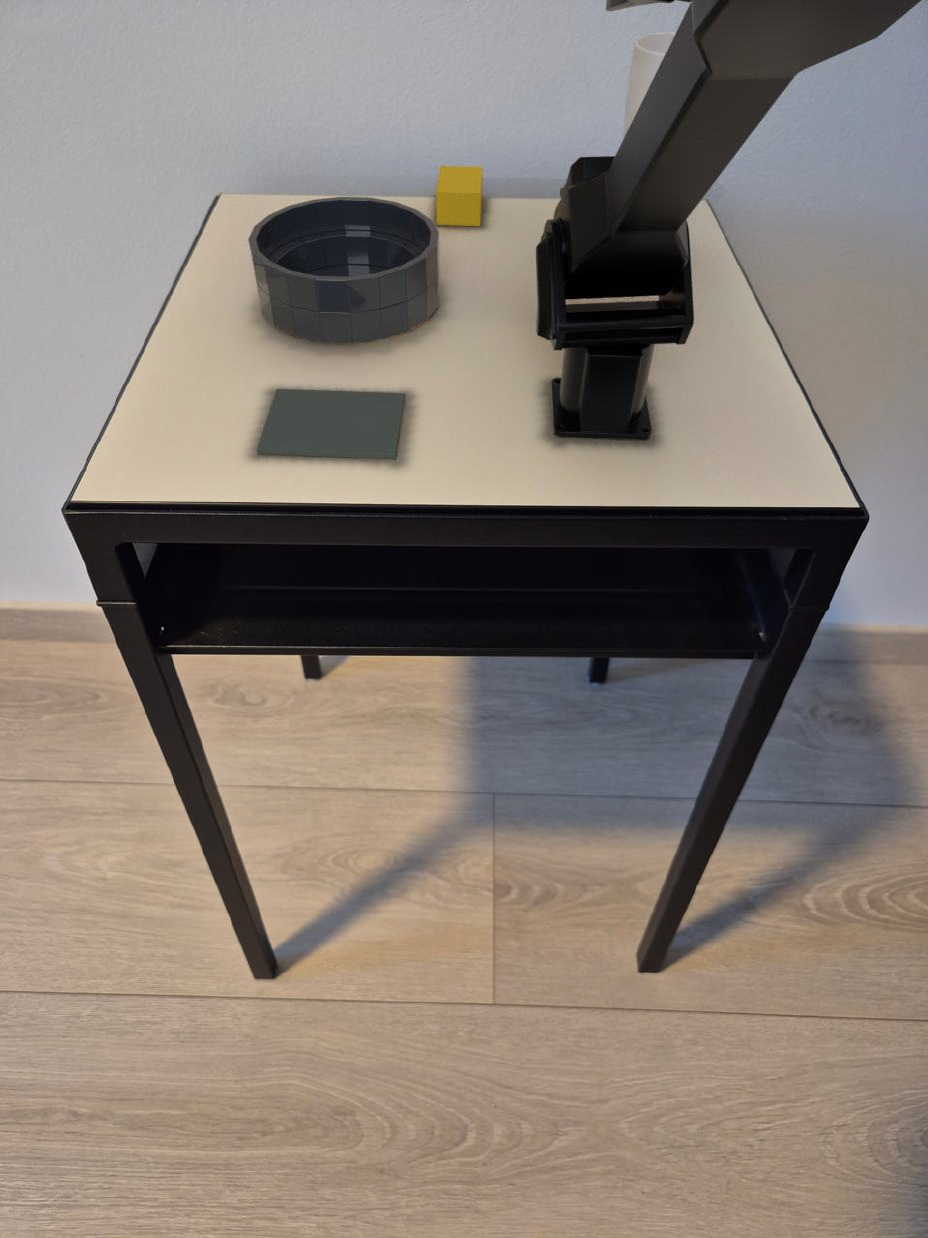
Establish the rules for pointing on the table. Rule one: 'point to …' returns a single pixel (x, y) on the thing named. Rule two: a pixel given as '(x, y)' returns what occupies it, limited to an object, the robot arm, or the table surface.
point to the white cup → (644, 70)
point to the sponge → (459, 196)
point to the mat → (333, 424)
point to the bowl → (346, 269)
